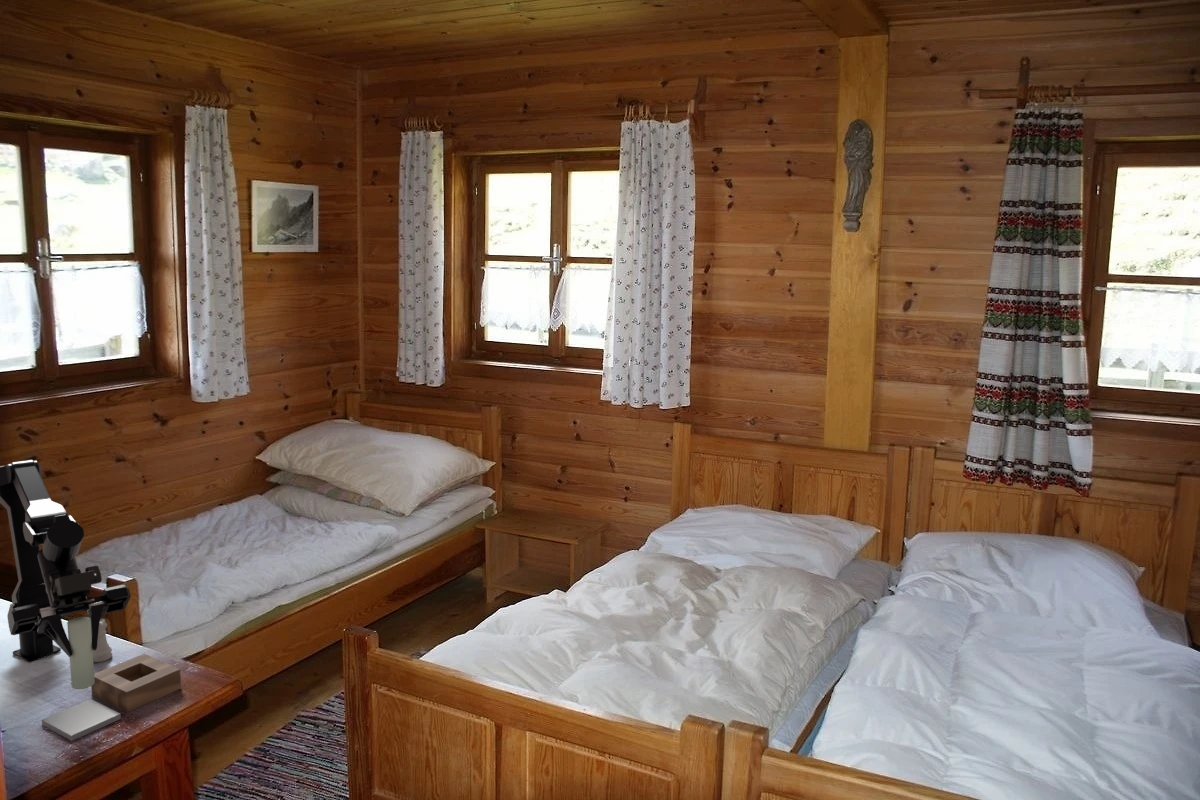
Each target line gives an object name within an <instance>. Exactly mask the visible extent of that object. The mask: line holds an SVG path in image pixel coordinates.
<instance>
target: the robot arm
mask: <svg viewBox="0 0 1200 800" xmlns="http://www.w3.org/2000/svg"><path fill="white" fill-rule="evenodd" d="M42 473H43V471H42V467H41V463H39V462H38V461H37V460H33V459H27V460H19V461H13V462H10V463H7V464H6V465H0V504H1V505H2V507H3V508H5V509H6V512H7V517H8V524H9V530H10V536H11V542H12V548H13V554H14V555H13V556H14V561H15V568H16V573H17V579H18V581H17V584H16V585H15V588H14V590H13V592H12V594H11V602H12V603H10V604H9V609H8V612H7V616H6V617H7V623H8V629H9V633H10V635H11V636H17V635H19V636H18V637H19V638H18V639H19V648H18V649H16V650H13V651H12V655H13V656H15V657H17V658H20V659H22V660H23V661H26V662H28V663H33V662H35V661H37V660H40V659H43V658H45V657H46V658H47V657H49V656H51V655H53V654H56V653H59V652H61V651H63V652H64V653H65V654H66V655H67V656H68V657H69V658H70V657H71V656H72V650H71V646H70V643H69V640H68V635H67V634H66V630H65V628H64V626H63V621H62V619H63V618H62V617H64V616H68V615H72V614H76V613H77V614H78V613H80V612H84V611H86V612H87V616H86V617H89V618H90V619H91V633H92V648H93V650H96V649H97V642H98V631H99V623H100V619H103V620H104V618H105V616H106V614H112V613H115V612H116V613H117V612H119V611H123V610H125V609H126V608H127V606H128V603H129V602H130V600H131V596H132V595H131V592H130V588H129V587H128V586H126V585H125V584H120V585H119V584H118V585H114V586H111V587H106V588H103V590H102V593H101V594H100V595H101V596H100V595H99V596H95V597H91V598H90V597H89V598H88V597H87V596H90V595H91V590H92V589H93V587H92V585H96V584H100V583H101V582H102V581H103V580H102V573H101V570H100V567H99V565H98V564H95V565H91V566H90V565H89V566H87V567H85V569H84V570H85V571H84V572H82V571H81V569H80V568H79V564H78V562H77V558H76V557H77V555H78V554H79V551H80V548H81V545H82V542H83V539H84V534H85V530H84V528H83V527H82V526H81V524H79V522H78V521H76V520H75V519H74V518H73V516H72V515H71V514H68V512H67V510H66V509H65V506H64V505H62V504H60V503H58V502H55V501H53V500H52V498H51V496H50V494H49V491H48V489H47V487H46V485H45V482H44V480H43V474H42ZM40 546H42V547H41V549H40ZM54 643H55V645H54ZM56 645H57V646H56Z"/></svg>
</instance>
